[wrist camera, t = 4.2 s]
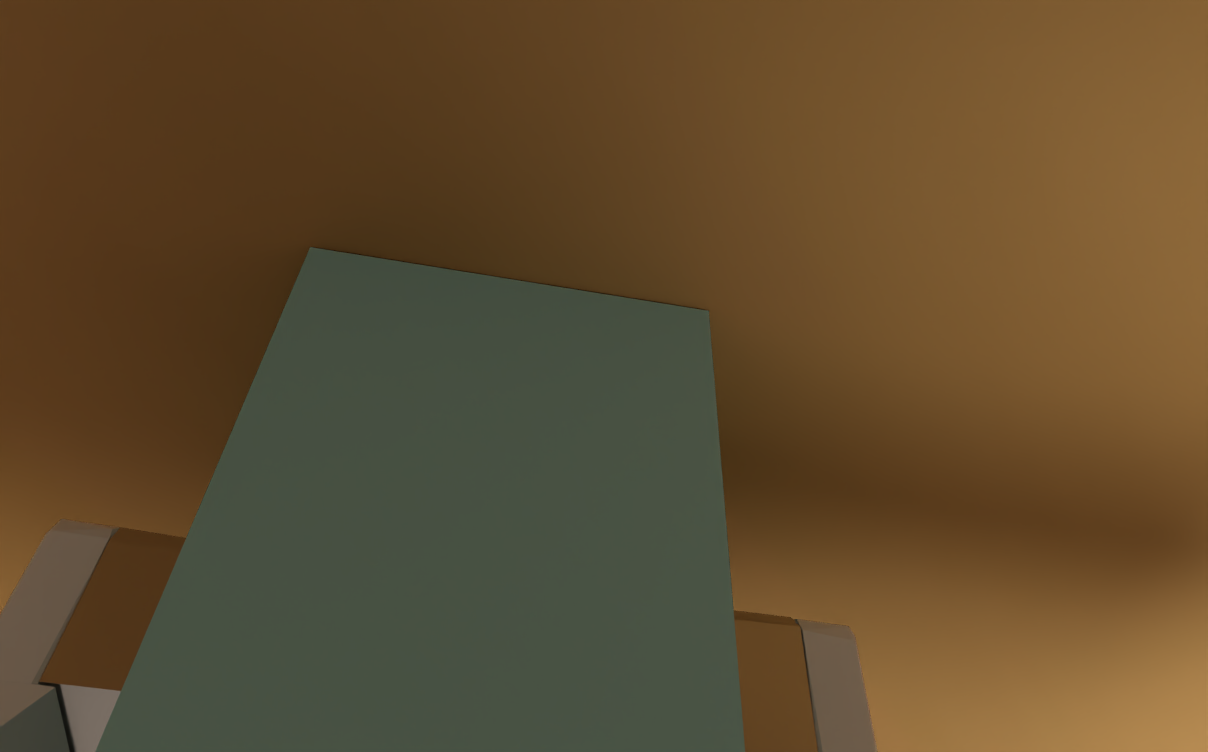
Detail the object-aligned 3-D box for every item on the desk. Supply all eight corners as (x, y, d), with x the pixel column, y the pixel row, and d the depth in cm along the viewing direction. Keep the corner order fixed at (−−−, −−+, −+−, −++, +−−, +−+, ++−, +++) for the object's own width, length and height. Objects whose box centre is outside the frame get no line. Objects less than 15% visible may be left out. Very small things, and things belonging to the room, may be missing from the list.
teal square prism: (309, 247, 11) (-20, 1021, 5) (708, 310, 11) (774, 1095, 6) (307, 523, 13) (79, 1242, 8) (633, 568, 14) (629, 1285, 8)
